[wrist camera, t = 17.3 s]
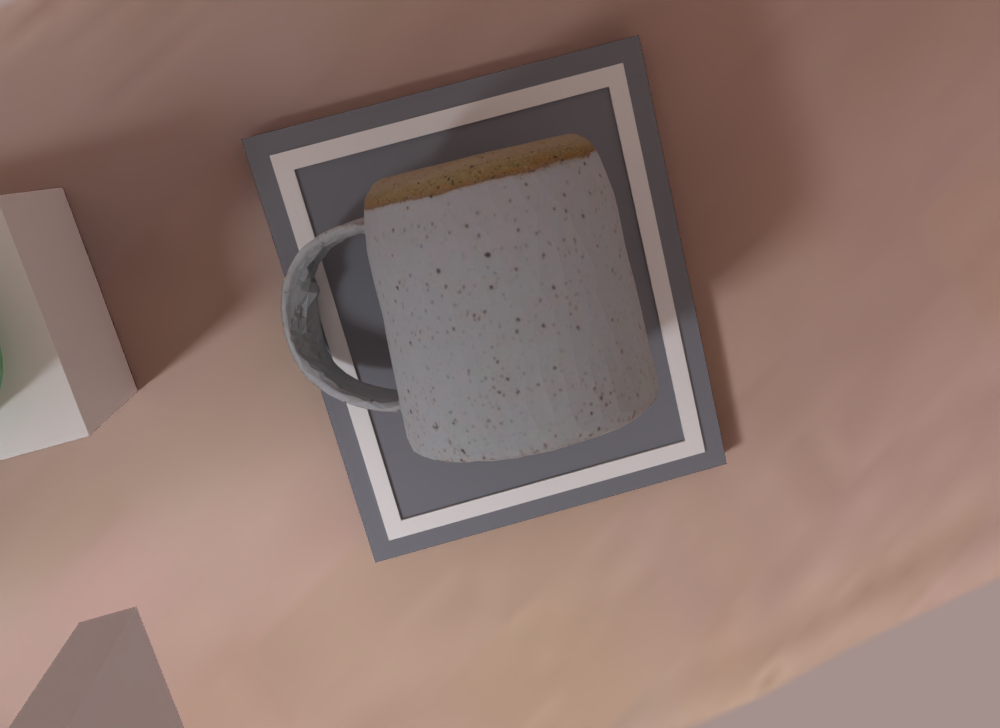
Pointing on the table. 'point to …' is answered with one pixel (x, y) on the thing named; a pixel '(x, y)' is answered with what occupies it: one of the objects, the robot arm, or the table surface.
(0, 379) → the button
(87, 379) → the button box
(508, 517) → the mat
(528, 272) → the ceramic mug
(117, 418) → the table surface
